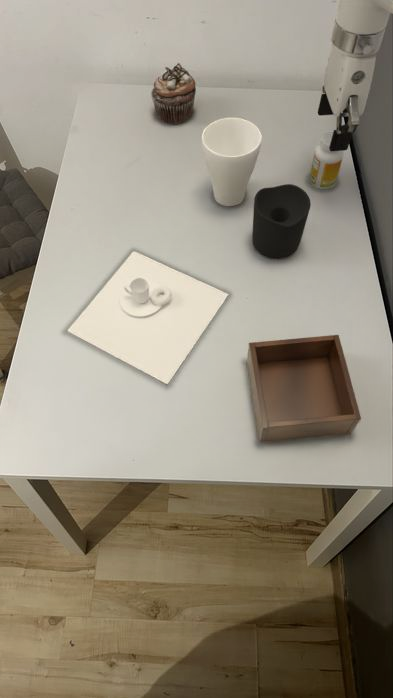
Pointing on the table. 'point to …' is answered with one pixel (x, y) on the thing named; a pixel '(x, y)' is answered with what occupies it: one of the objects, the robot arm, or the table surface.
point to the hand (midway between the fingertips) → (331, 131)
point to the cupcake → (174, 95)
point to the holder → (301, 389)
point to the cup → (230, 157)
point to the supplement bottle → (325, 164)
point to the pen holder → (279, 220)
